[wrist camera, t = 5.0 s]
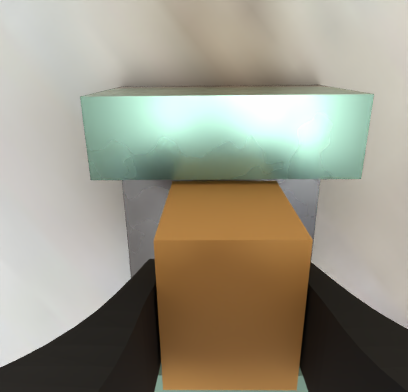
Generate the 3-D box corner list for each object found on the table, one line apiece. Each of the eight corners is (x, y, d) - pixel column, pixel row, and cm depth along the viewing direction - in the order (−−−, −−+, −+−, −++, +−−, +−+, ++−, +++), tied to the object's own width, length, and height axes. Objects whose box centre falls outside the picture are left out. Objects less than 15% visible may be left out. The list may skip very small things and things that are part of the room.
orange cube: (276, 180, 13) (312, 239, 9) (269, 291, 15) (296, 390, 10) (172, 181, 14) (153, 240, 9) (177, 290, 15) (163, 389, 11)
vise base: (320, 85, 17) (373, 94, 12) (289, 385, 24) (314, 481, 19) (121, 86, 18) (80, 96, 12) (146, 385, 25) (128, 479, 19)
